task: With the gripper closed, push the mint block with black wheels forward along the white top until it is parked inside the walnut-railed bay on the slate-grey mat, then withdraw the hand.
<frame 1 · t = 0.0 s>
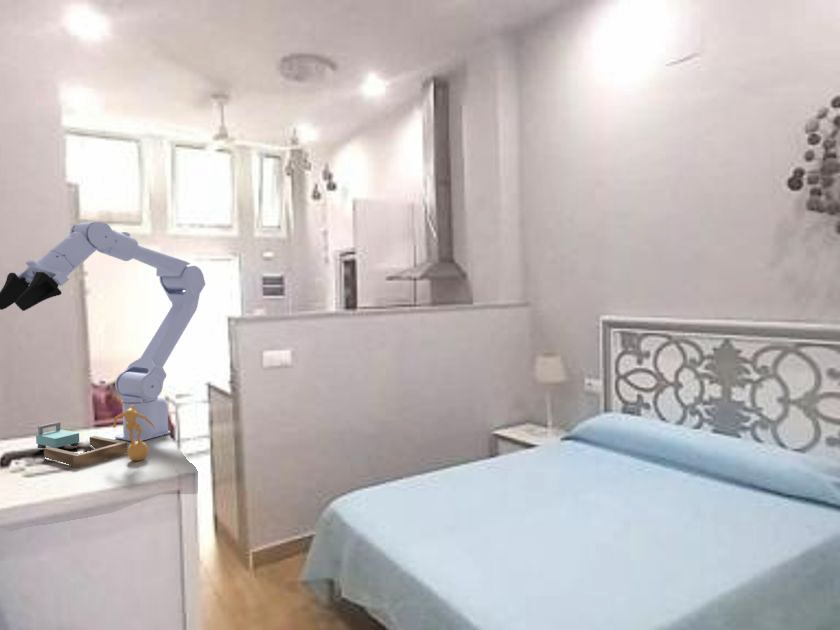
hand: (8, 306, 111), 32 cm above the table, tool tilted 50°, fingers open, 7 cm apart
mint block: (58, 449, 127), on the table
figurine: (135, 462, 119), on the table
dock: (84, 456, 122), on the table
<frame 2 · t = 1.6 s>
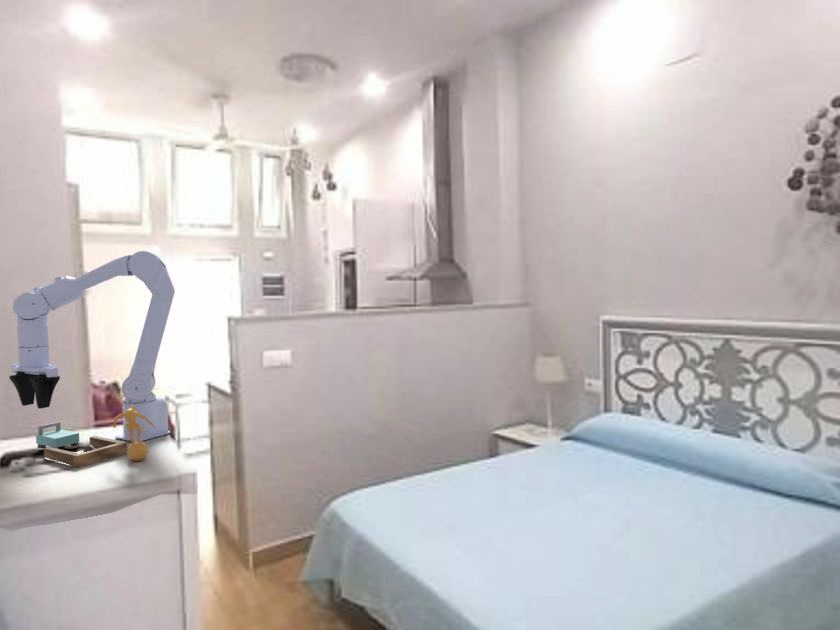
hand: (35, 406, 130), 9 cm above the table, tool pointing down, fingers open, 6 cm apart
nothing on the table moved.
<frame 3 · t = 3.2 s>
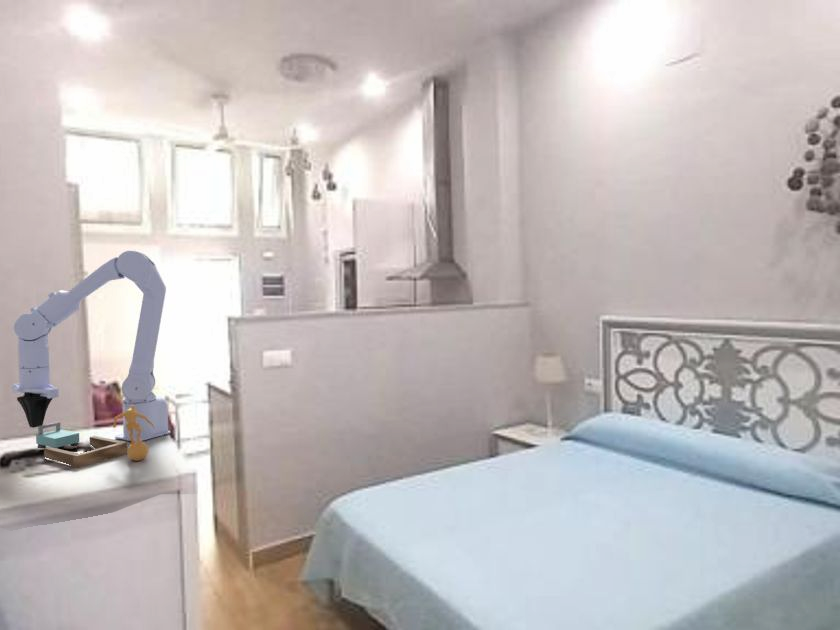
hand: (36, 426, 130), 4 cm above the table, tool pointing down, fingers closed
nothing on the table moved.
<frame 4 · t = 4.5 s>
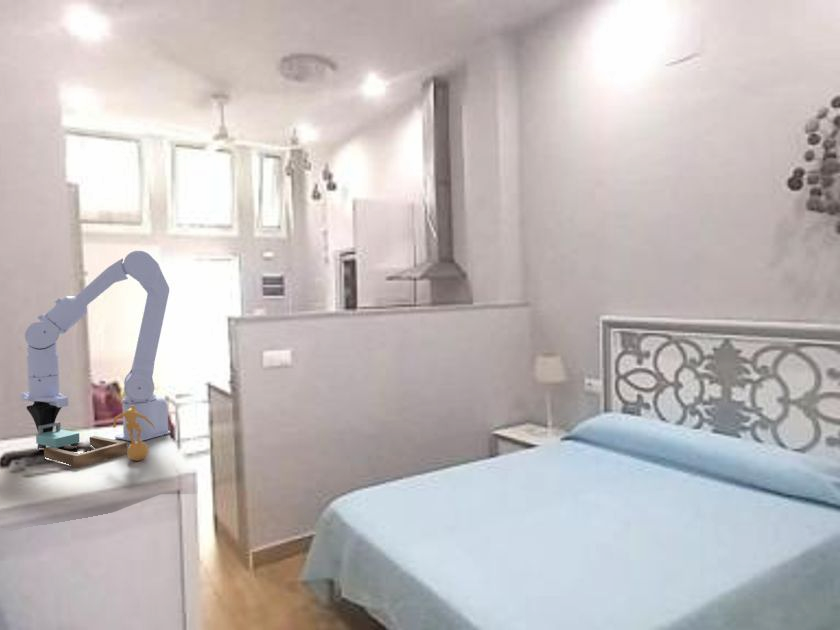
hand: (45, 435, 129), 3 cm above the table, tool pointing down, fingers closed
mint block: (58, 449, 127), on the table, touching gripper
everything else where it was.
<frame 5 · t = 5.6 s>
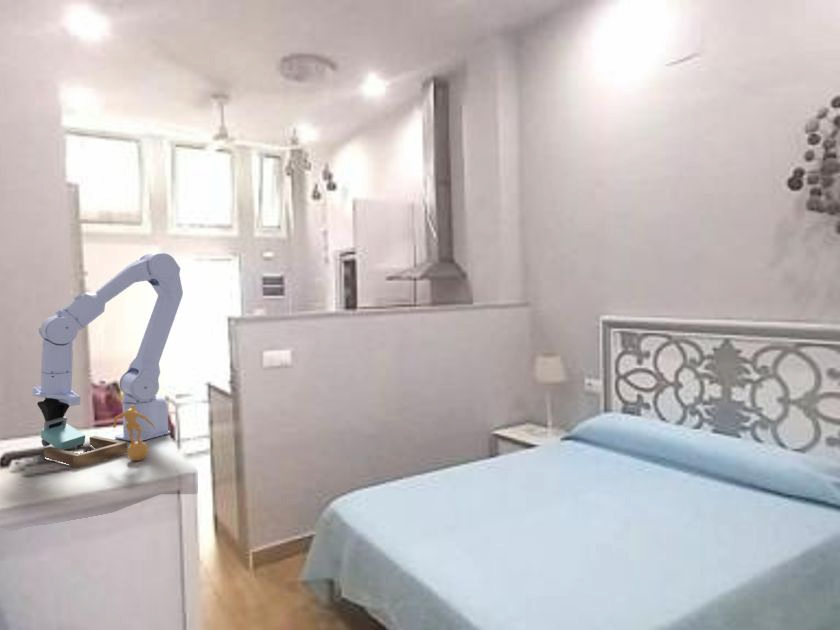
hand: (54, 433, 126), 4 cm above the table, tool pointing down, fingers closed, pressing on mint block
mint block: (62, 447, 126), point 1 cm above the table, tilted 17°, touching dock, gripper
everything else where it was.
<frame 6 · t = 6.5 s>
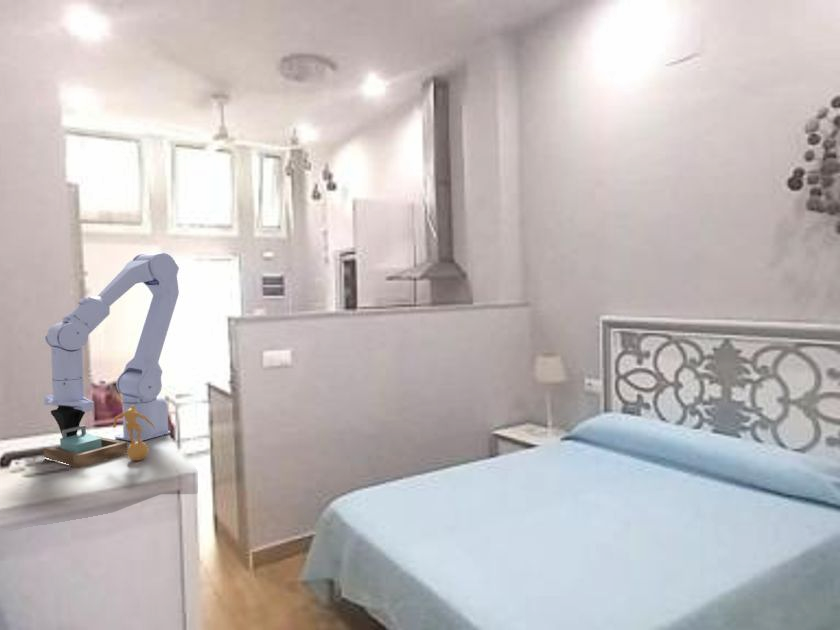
hand: (69, 440, 125), 3 cm above the table, tool pointing down, fingers closed
mint block: (81, 454, 122), resting on dock, touching gripper
everything else where it was.
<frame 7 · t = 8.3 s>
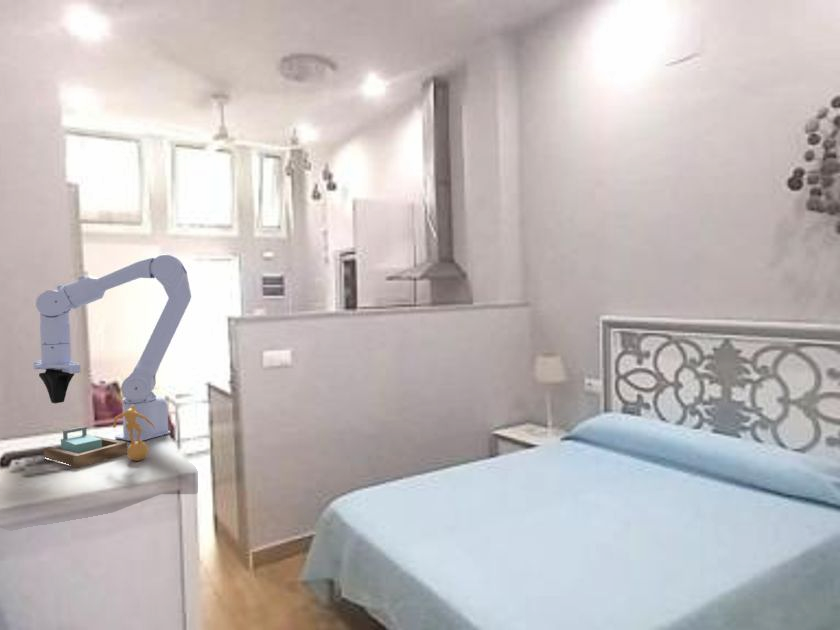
hand: (57, 402, 132), 9 cm above the table, tool pointing down, fingers closed
mint block: (81, 455, 122), resting on dock
everything else where it was.
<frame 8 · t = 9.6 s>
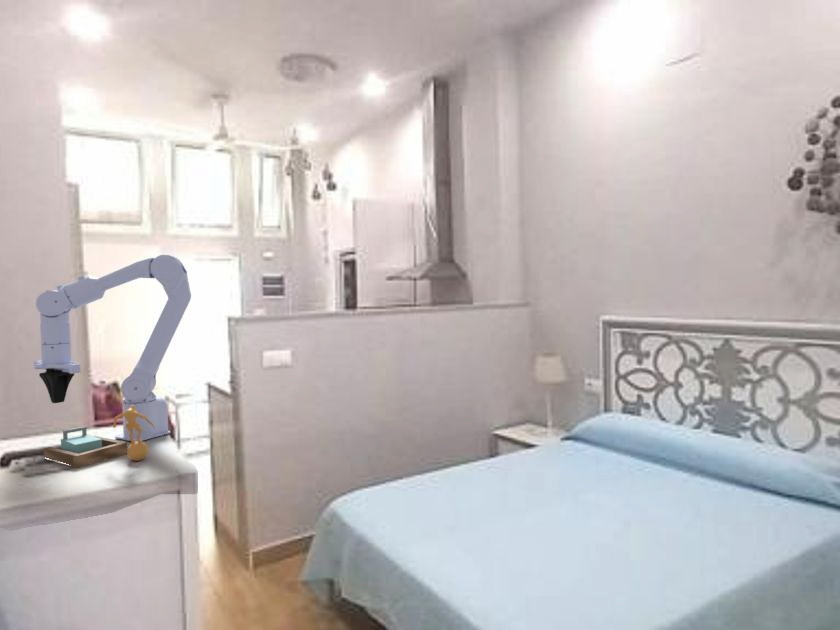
hand: (58, 402, 132), 9 cm above the table, tool pointing down, fingers closed
nothing on the table moved.
at the end: mint block 1.9 cm from the target spot on the dock, point 0.1 cm above the dock's base; mint block tilted 0° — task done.
